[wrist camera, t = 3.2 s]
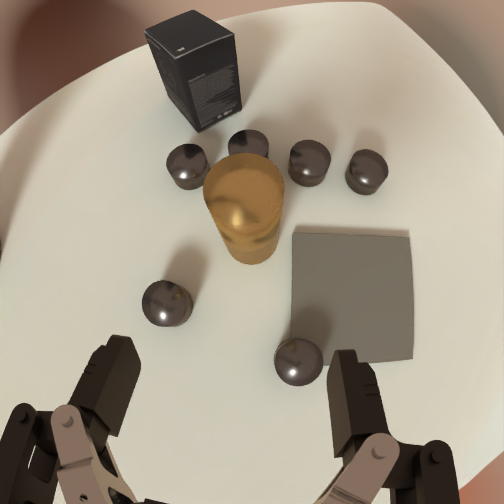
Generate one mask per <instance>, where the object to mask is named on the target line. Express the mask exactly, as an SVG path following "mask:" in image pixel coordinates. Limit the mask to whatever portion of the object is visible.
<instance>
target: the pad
mask: <svg viewBox="0 0 504 504" xmlns="http://www.w3.org/2000/svg"><path fill="white" fill-rule="evenodd" d="M413 336H414V304H413V278H412V263H411V251H410V241H409V238H406V237H387V236H365V235H341V234H314V233H293V234H292V310H291V339H293V338H302V339H305V340H308V341H311V342H313V343H314V344H316V345H317V346H318V347H319V349H320V350H321V352H322V355H323V360H324V363H323V366H328V365H330V364H331V360H332V357H333V354H334V351H335V350H344V349H354V350H355V351H356V354H357V358H358V362H367V363H379V362H390V361H400V360H409V359H413Z"/></svg>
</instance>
